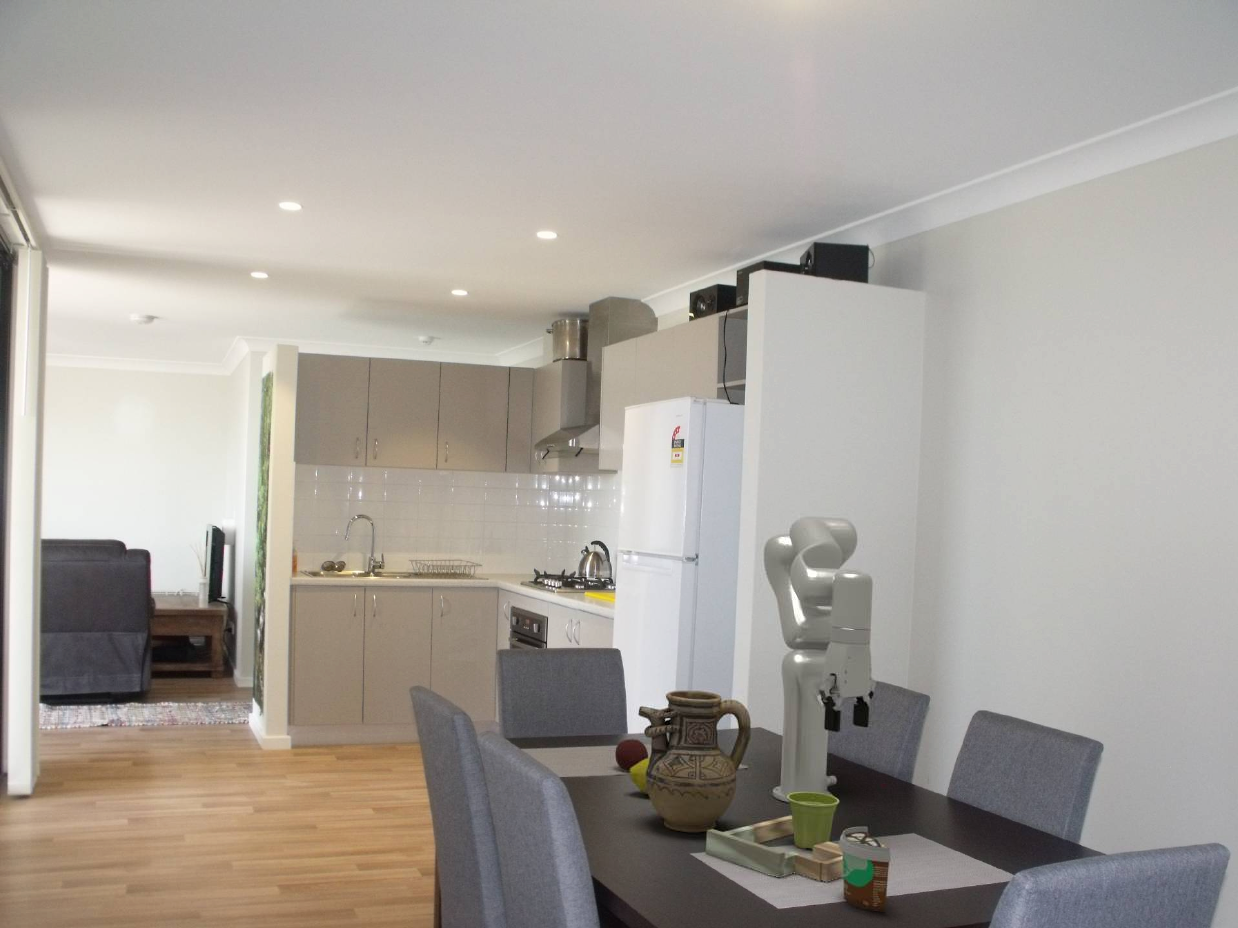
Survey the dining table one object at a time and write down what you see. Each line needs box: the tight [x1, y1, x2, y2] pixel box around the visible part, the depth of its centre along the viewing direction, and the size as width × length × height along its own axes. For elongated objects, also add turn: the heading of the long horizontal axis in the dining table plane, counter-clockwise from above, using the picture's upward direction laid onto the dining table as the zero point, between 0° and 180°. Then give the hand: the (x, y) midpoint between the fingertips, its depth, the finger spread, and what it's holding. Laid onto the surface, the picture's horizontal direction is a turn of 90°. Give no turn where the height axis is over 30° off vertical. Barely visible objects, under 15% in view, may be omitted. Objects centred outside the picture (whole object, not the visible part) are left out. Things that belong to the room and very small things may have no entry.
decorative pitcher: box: [637, 690, 752, 834], centre depth 214 cm, size 22×18×25 cm
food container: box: [838, 826, 891, 912], centre depth 177 cm, size 12×6×10 cm, turn 5°
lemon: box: [629, 757, 650, 795], centre depth 236 cm, size 11×8×8 cm
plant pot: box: [787, 792, 840, 851], centre depth 206 cm, size 9×9×9 cm
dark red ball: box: [614, 738, 649, 772], centre depth 258 cm, size 7×8×7 cm
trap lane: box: [705, 814, 886, 882], centre depth 199 cm, size 26×22×4 cm
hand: (846, 728), depth 213 cm, fingers open, 8 cm apart
